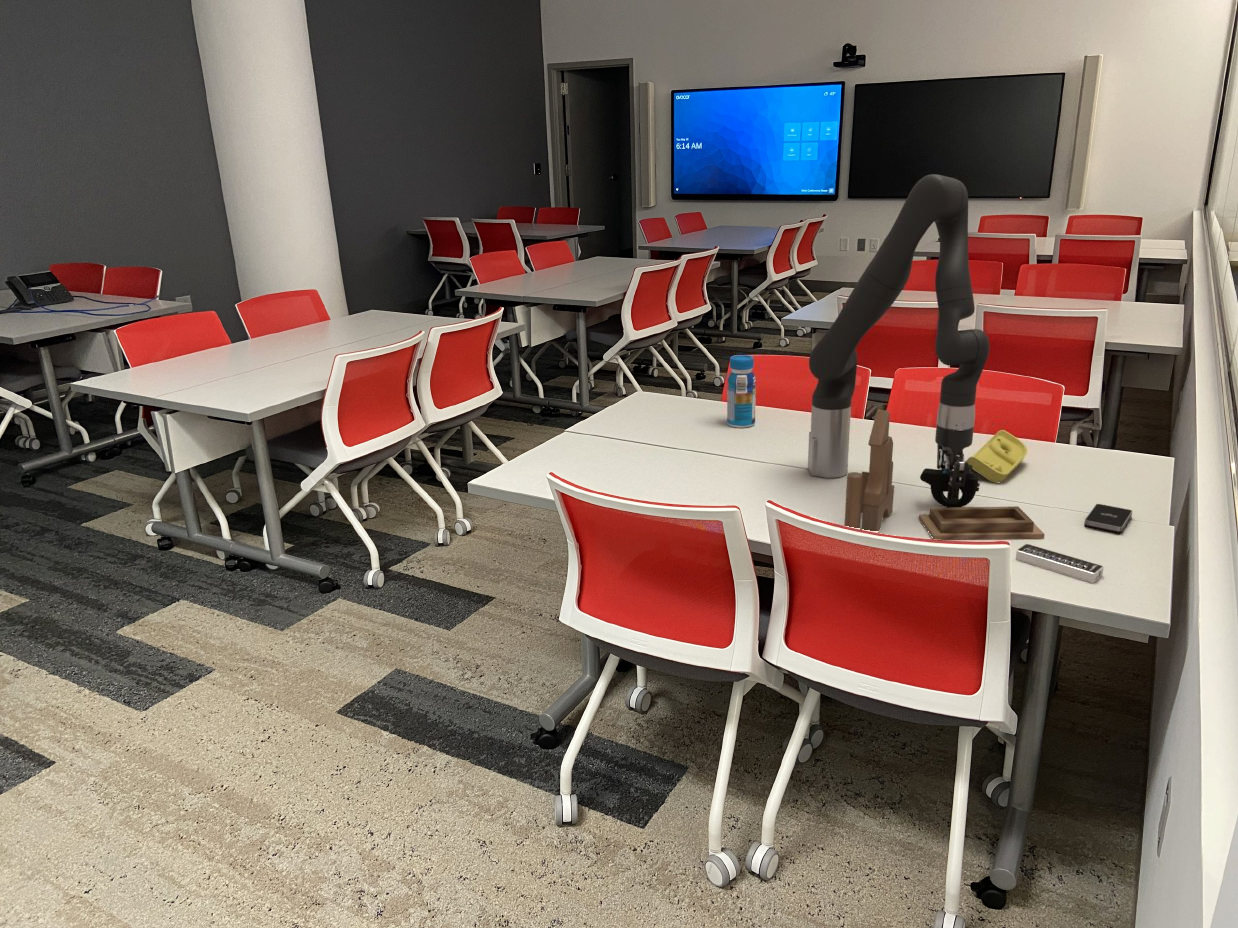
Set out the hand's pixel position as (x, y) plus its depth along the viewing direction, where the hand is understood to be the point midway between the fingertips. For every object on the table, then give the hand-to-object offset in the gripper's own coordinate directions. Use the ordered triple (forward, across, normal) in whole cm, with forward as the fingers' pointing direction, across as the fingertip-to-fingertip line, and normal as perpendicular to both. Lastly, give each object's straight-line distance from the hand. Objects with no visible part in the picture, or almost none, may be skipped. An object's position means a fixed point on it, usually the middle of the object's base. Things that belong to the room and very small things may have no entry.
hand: (948, 495), depth 194 cm
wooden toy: (+3, +8, -19) cm, 21 cm away
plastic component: (+3, -23, +18) cm, 29 cm away
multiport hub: (+3, +30, +12) cm, 32 cm away
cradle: (+3, +12, +3) cm, 13 cm away
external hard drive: (+3, +10, +30) cm, 32 cm away
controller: (+3, 0, 0) cm, 3 cm away
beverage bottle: (+3, -64, -40) cm, 76 cm away
